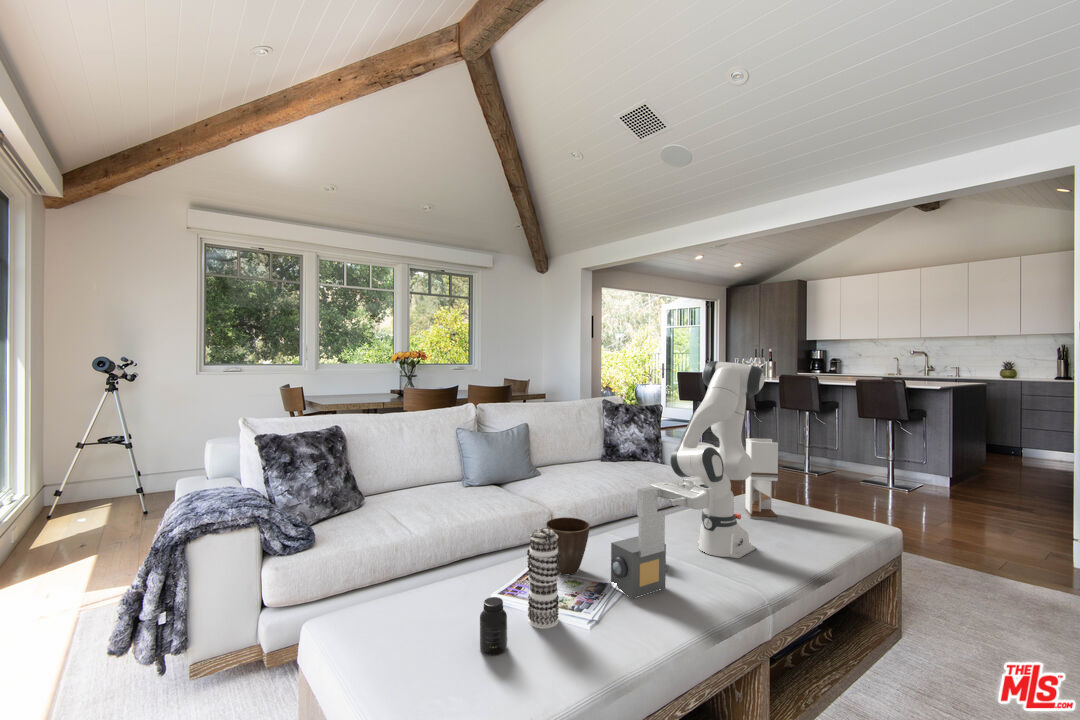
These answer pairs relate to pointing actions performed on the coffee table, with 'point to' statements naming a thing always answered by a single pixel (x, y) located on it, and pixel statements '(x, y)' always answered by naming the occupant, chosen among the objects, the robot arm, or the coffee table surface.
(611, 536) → the coffee table surface
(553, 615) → the black white cylinder
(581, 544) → the plant pot
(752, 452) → the white cabinet
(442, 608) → the coffee table surface
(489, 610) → the supplement bottle
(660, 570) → the block
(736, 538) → the robot arm
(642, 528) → the side door
